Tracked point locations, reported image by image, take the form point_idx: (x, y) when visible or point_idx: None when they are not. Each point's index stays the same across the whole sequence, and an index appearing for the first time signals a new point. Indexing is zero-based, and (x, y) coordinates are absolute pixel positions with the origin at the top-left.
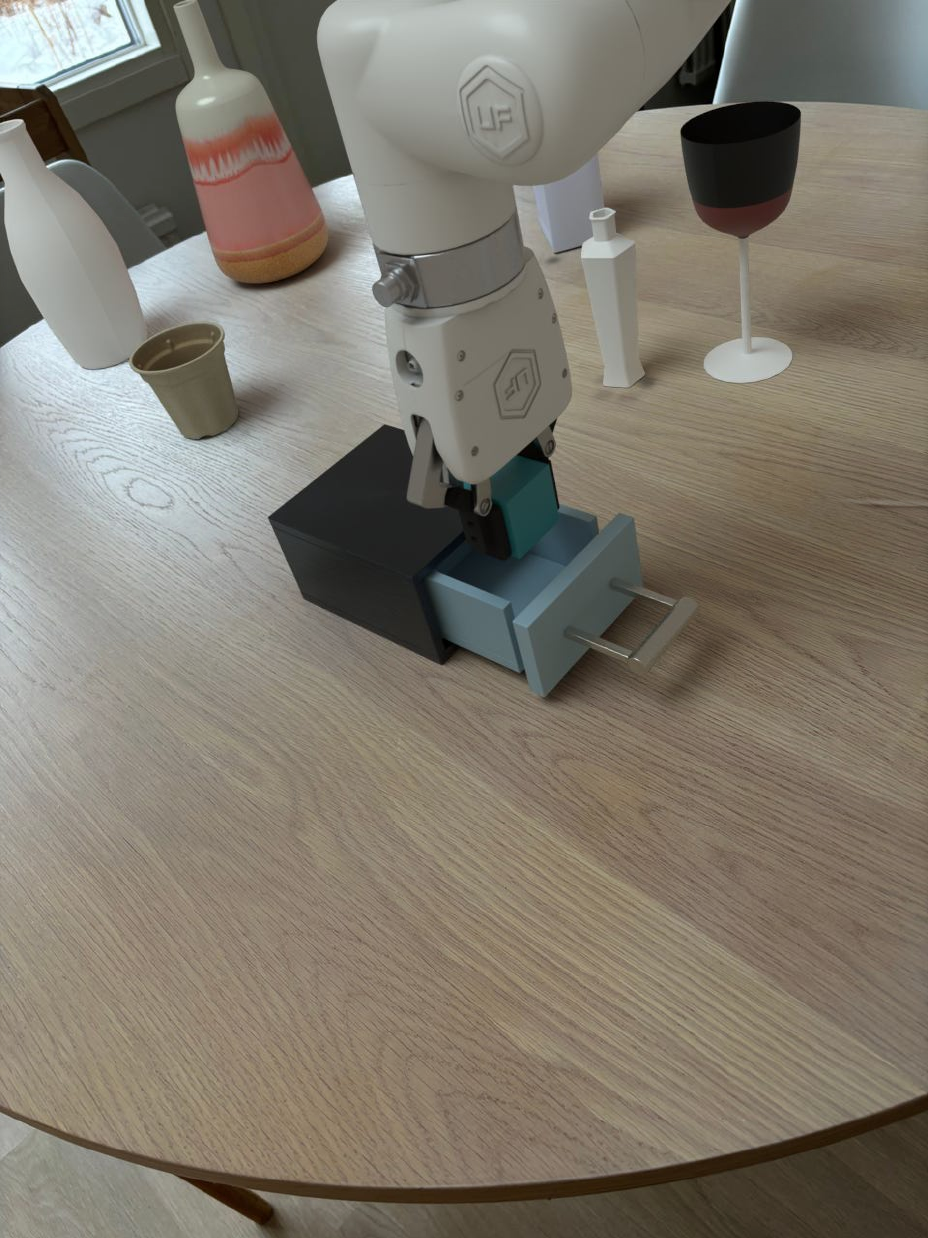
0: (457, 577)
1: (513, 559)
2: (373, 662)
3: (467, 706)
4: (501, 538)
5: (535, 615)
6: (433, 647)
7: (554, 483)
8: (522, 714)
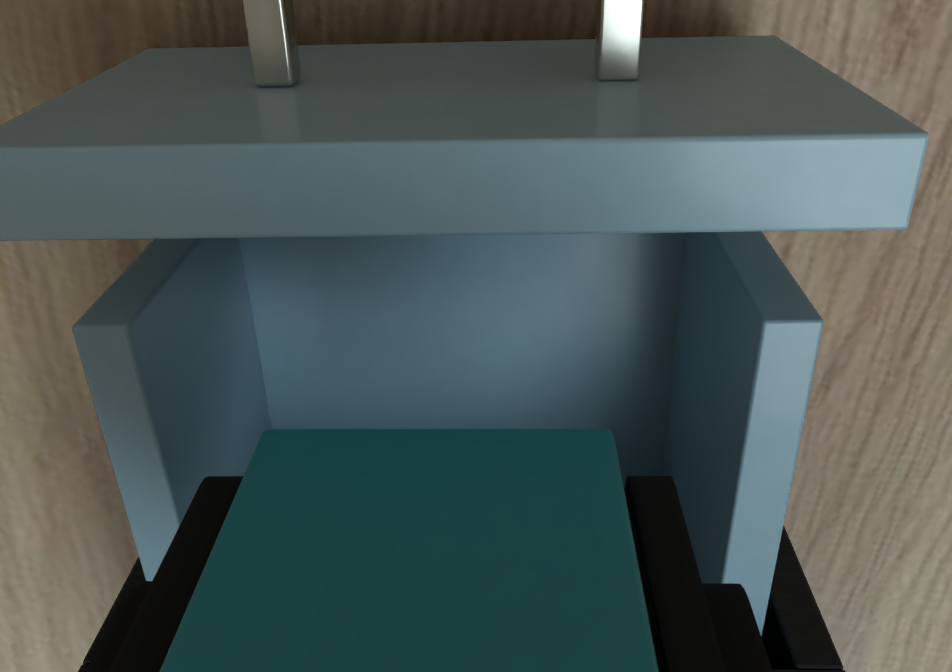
0: None
1: None
2: (798, 558)
3: (851, 254)
4: (700, 582)
5: (832, 152)
6: None
7: (147, 603)
8: None
